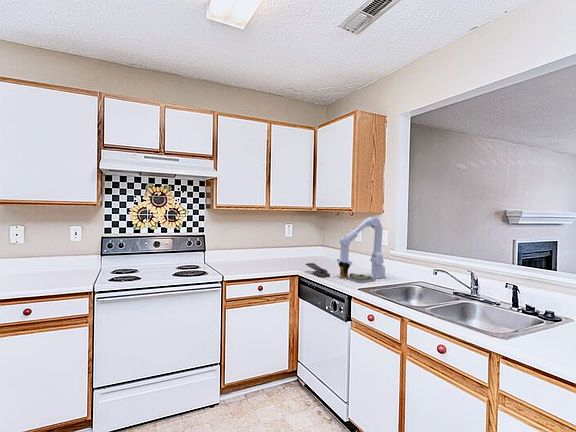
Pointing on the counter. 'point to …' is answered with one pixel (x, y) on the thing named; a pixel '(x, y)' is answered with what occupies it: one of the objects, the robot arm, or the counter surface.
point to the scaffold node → (360, 278)
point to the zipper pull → (318, 271)
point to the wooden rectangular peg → (343, 272)
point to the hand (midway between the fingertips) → (344, 273)
